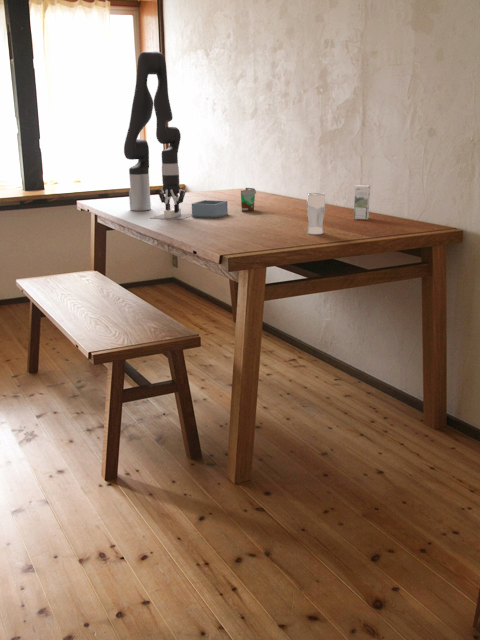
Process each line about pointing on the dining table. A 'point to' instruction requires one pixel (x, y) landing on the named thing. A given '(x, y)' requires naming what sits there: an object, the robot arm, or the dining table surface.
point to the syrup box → (361, 202)
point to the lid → (172, 215)
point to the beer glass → (315, 212)
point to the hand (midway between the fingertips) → (172, 212)
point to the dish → (209, 209)
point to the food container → (248, 199)
